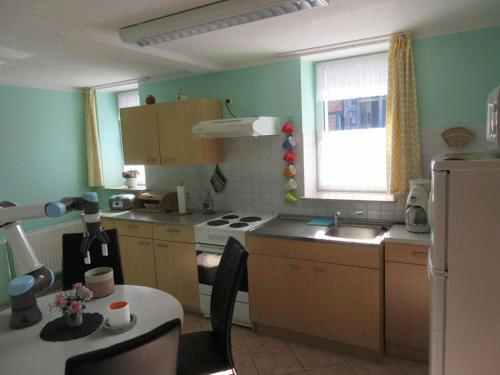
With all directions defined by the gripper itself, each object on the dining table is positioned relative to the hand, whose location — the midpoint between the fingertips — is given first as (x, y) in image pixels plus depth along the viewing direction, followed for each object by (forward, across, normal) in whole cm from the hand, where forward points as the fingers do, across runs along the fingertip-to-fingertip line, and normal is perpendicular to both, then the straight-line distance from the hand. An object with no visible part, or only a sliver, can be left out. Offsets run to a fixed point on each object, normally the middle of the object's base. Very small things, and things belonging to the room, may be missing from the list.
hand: (96, 259), depth 202 cm
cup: (+28, -13, -22) cm, 38 cm away
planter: (+29, +18, +16) cm, 38 cm away
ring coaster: (+29, -13, -22) cm, 38 cm away
